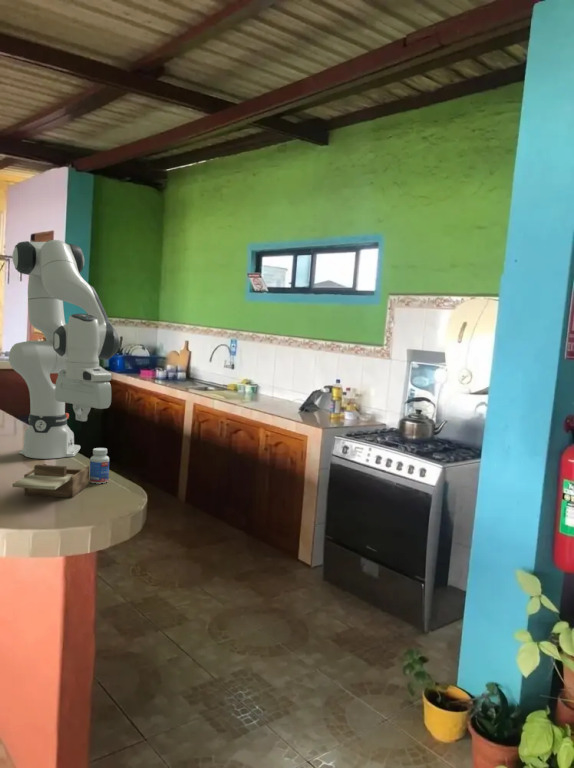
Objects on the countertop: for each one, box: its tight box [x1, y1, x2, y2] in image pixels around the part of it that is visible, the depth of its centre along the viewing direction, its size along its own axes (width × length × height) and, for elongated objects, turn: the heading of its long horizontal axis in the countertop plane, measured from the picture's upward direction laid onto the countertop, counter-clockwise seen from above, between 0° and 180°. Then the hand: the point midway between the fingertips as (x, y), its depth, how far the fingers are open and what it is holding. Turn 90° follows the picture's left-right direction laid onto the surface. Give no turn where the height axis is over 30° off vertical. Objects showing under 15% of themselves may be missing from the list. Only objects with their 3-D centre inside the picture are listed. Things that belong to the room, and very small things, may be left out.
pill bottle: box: [89, 447, 110, 485], centre depth 185 cm, size 6×5×10 cm
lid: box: [11, 464, 74, 490], centre depth 165 cm, size 13×11×3 cm
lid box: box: [23, 463, 90, 499], centre depth 175 cm, size 13×13×6 cm
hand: (81, 420), depth 180 cm, fingers closed
